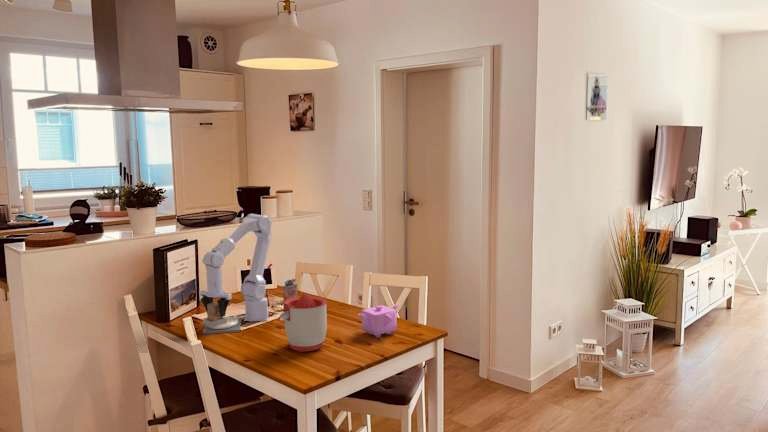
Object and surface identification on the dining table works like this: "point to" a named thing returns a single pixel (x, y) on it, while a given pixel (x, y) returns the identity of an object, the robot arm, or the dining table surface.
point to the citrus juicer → (305, 322)
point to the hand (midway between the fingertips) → (216, 315)
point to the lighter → (290, 289)
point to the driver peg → (213, 312)
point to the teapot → (379, 320)
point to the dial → (221, 323)
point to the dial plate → (226, 330)
